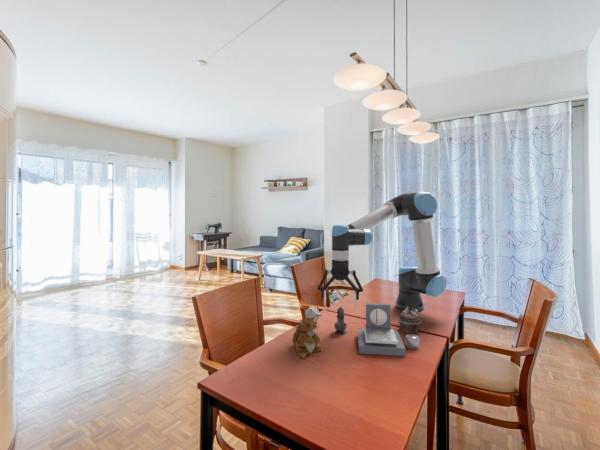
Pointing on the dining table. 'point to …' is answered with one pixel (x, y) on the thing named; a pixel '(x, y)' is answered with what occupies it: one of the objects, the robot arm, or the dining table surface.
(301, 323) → the stuffed squirrel
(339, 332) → the dark grey tall piece
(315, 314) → the game die
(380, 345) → the scale base
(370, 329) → the pan
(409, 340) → the spacer
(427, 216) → the robot arm
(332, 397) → the dining table surface
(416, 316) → the cupcake
